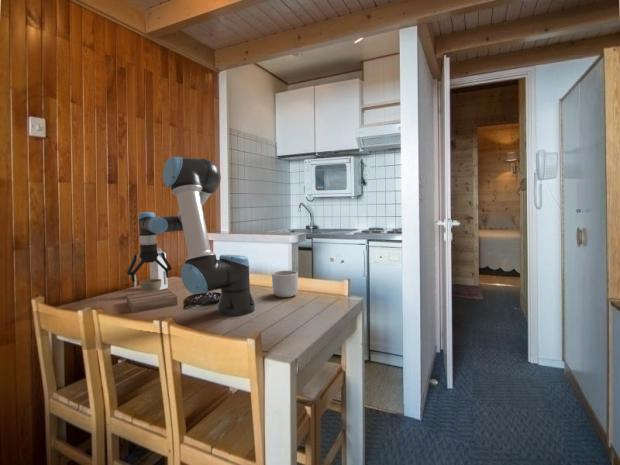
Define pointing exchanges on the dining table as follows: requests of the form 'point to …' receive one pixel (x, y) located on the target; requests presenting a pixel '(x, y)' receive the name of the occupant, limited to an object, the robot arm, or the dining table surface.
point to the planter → (285, 283)
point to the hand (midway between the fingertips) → (150, 286)
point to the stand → (151, 300)
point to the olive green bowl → (150, 285)
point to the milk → (158, 270)
